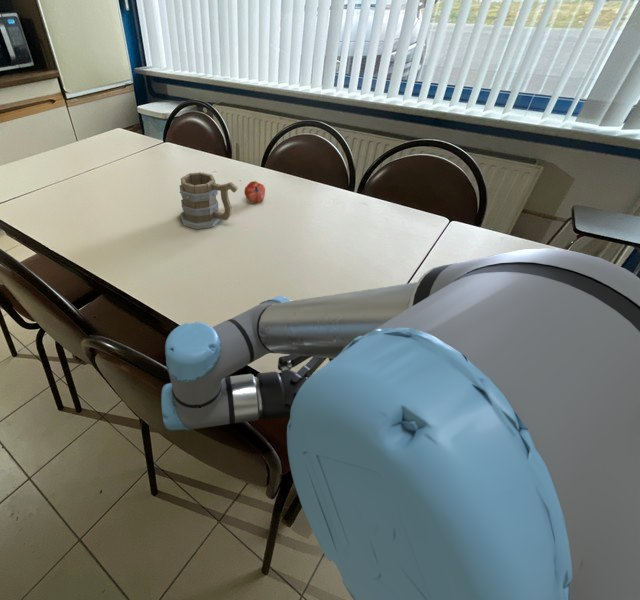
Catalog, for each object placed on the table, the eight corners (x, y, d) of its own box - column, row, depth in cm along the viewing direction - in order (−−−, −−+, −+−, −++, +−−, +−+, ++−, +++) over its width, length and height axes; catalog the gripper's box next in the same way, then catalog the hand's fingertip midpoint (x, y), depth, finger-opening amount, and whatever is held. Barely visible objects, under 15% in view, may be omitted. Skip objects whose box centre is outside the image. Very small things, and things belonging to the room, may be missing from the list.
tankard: (174, 222, 120) (168, 178, 110) (196, 207, 129) (192, 164, 119) (226, 238, 113) (224, 193, 103) (245, 221, 121) (246, 177, 111)
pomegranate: (242, 203, 135) (243, 198, 125) (245, 184, 135) (246, 176, 125) (262, 206, 135) (264, 201, 125) (265, 186, 135) (267, 179, 125)
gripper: (246, 353, 72) (349, 342, 74) (271, 483, 54) (407, 464, 56) (246, 327, 67) (357, 316, 69) (274, 460, 49) (424, 439, 51)
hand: (379, 382), depth 63 cm, fingers open, 13 cm apart
